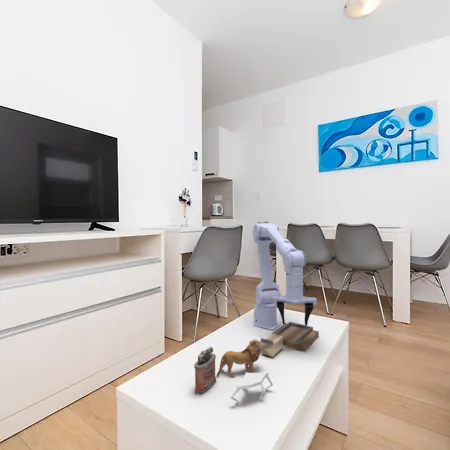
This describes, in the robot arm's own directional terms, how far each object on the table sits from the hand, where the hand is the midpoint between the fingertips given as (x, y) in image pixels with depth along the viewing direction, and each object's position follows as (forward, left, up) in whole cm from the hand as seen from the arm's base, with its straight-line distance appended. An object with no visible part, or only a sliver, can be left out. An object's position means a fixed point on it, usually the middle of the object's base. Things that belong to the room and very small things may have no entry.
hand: (294, 323), depth 97 cm
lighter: (-11, -35, -9) cm, 38 cm away
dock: (-3, +7, -9) cm, 12 cm away
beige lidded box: (-5, -7, -9) cm, 13 cm away
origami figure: (+1, -31, -9) cm, 33 cm away
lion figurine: (-8, -23, -9) cm, 26 cm away
